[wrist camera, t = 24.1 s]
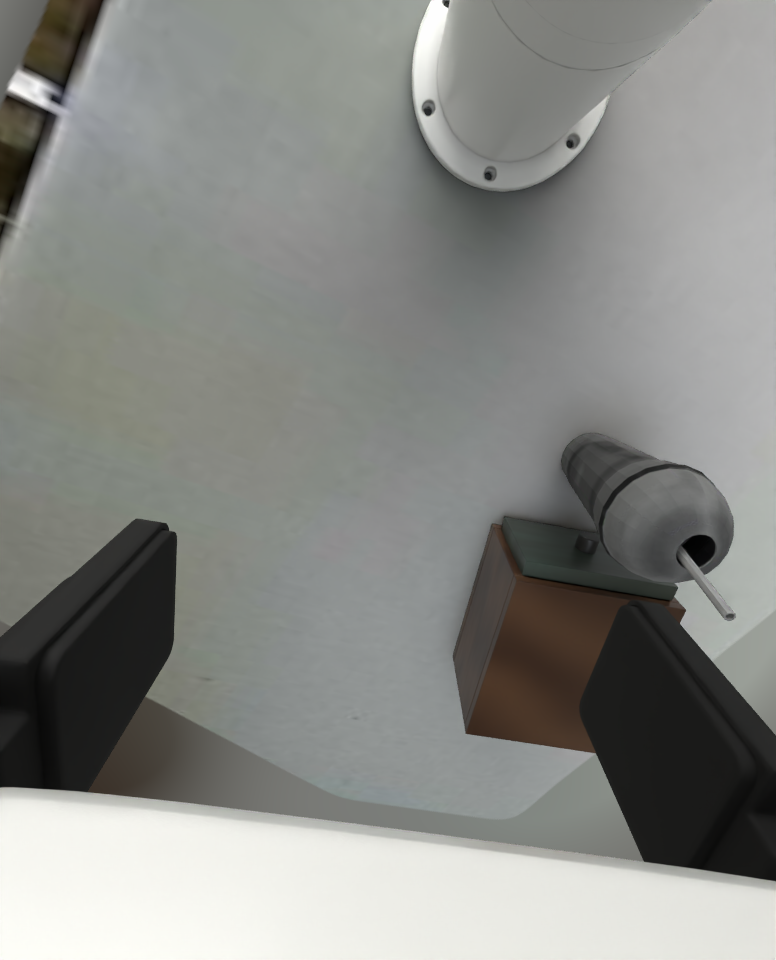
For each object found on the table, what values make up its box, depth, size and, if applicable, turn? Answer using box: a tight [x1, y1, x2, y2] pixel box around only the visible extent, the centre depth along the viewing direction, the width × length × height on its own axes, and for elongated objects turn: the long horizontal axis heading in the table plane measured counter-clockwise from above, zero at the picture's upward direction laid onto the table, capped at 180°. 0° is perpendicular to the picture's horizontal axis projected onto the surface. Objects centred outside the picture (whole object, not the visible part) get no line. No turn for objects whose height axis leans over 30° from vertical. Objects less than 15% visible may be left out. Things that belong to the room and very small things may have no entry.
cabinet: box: [453, 524, 686, 753], centre depth 42 cm, size 15×13×9 cm
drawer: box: [501, 517, 678, 601], centre depth 41 cm, size 15×11×7 cm
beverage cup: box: [561, 433, 736, 621], centre depth 32 cm, size 7×7×20 cm
